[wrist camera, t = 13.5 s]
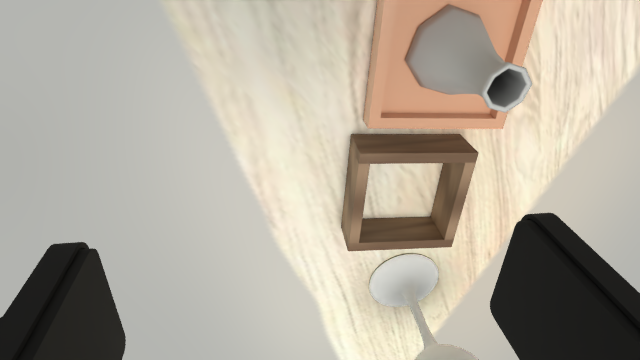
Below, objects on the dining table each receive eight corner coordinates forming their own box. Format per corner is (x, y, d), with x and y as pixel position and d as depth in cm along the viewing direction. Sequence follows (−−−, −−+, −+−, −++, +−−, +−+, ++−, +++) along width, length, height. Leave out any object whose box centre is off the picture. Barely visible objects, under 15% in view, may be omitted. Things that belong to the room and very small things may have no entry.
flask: (504, 40, 35) (583, 74, 27) (446, 106, 38) (501, 157, 29) (448, -14, 33) (515, 5, 24) (389, 62, 35) (431, 104, 27)
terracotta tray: (382, -38, 32) (389, -36, 30) (535, -28, 34) (550, -26, 32) (363, 119, 38) (368, 128, 37) (492, 120, 40) (502, 128, 39)
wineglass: (364, 307, 52) (421, 504, 34) (373, 254, 47) (443, 449, 30) (430, 303, 53) (517, 491, 35) (444, 251, 49) (553, 436, 31)
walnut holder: (351, 134, 39) (359, 153, 36) (460, 134, 41) (478, 152, 37) (341, 226, 45) (348, 251, 41) (437, 223, 46) (451, 246, 43)
